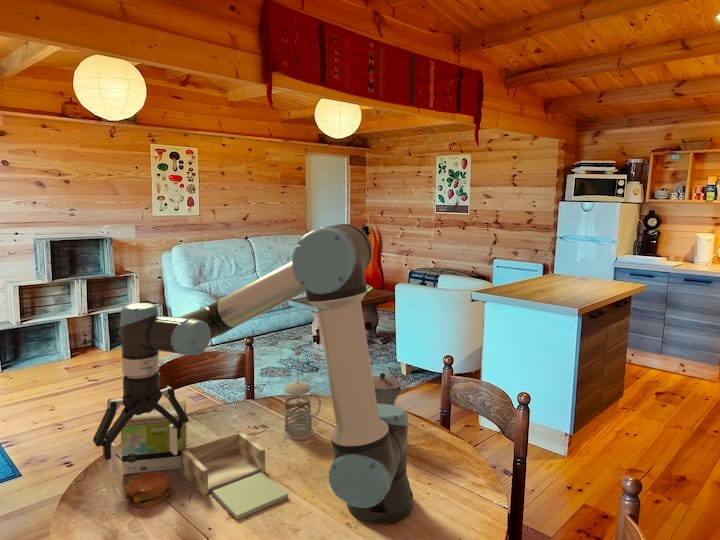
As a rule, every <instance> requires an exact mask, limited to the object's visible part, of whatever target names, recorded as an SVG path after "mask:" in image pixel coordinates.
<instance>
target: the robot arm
mask: <svg viewBox="0 0 720 540" xmlns="http://www.w3.org/2000/svg"><path fill="white" fill-rule="evenodd" d="M372 245H373V244H372V243H371V240H370V238H369V236H368V235H367V234H366V233H365V231H364V230H362V229H361V228H360V227H358V226H356V225H353V224H350V223H349V224H348V223H340V224H336V225H335V224H334V225H329V226H327V225H326V226H322V227H316V228H315V229H312V230H310V231H309V232H307V233H306V234H304V235H303V236H302V237H301V238H300V239H299V240H298V242H297V244H296V245H295V247H294V250H293V253H292V257H291V261H290V262H288V263H286V264H284V265H282V266H281V267H278V268H277V269H275V270H273V271H271V272H270V273H269V272H268V273H267V274H266V275H263V276H262V277H259V278H258V279H256V280H255V281H252V282H249V284H247V285H245V286H242V287H241V288H238V289H237V290H234V292H231V293H229V294H228V295H225V296H224V297H222V298H221V299H219V300H216V301H214V302H212V303H211V304H209V305H207V306H205V307H201V308H199V309H198V310H193V311H192V312H189V313H186V314H183V315H181V316H174V317H172V316H164V315H159V312H158V307H157V305H155V304H153V303H150V302H149V303H148V302H138V303H131V304H127V305H125V306H124V307H122V309H121V310H120V323H119V324H120V325H119V328H120V339H121V349H122V350H121V362H122V363H121V367H122V374H123V376H122V390H123V392H122V393H123V395H122V398H119V399H117V398H116V399H114V398H112V397H110V398H108V400H107V405H106V406H107V407H106V411H105V412H104V414H103V416H102V419H101V422H100V423H99V426H98V427H97V430H96V432H95V433H94V436H93V439H92V442H93V444H94V445H95V446H96V447H97V448H98V447H102V455H103V458H104V460H105V461H108V470H109V472H110V473H111V475H115V474H117V464H116V445H115V444H114V441H115V440H116V439H117V437H118V436H119V435H120V434H121V430H122V429H123V427H124V426H125V425H126V423H127V422H128V421H129V420H130V419H131V418H132V417H133V416H134V415H141V414H143V413H149V412H151V411H152V410H153V409H156V410H157V411H158V412H159V413H161V414H162V415H163V416H164V417H166V418H167V419H168V420H169V421H170V422H172V423H173V424H172V425H169V431H170V451H171V452H172V453H173V454H174V455H177V439H180V437H181V428H182V426H183V425H182V424H183V423H186V424H187V423H188V422H189V421H190V420H189V419H190V418H189V417H188V416H187V413H186V414H185V412H184V411H183V409H182V407H181V406H180V404H179V403H178V400H177V398H176V394H175V389H174V388H173V387H171V386H170V385H166V386H165V388H163V389H160V385H161V384H160V383H161V382H160V372H159V370H160V358H159V357H160V356H159V355H160V354H159V352H166V353H173V354H179V355H182V356H199V355H201V354H202V353H203V354H204V352H205V350H206V348H208V346H209V344H210V341H211V340H212V339H215V338H217V337H218V336H219V337H220V336H222V335H224V334H226V333H228V332H229V331H231V330H233V329H235V328H237V327H238V326H240V325H242V324H245V323H247V322H249V321H250V320H252V319H254V318H257V317H259V316H260V315H263V314H265V313H266V312H269V311H271V310H273V309H275V308H277V307H278V306H281V305H282V304H284V303H287V302H289V301H291V300H293V299H295V298H298V297H299V296H301V295H303V294H305V295H306V300H307V303H308V304H309V305H312V306H313V307H314V308H315V309H316V312H317V317H318V323H319V329H320V334H321V341H322V348H323V354H324V359H325V365H326V372H327V377H328V384H329V389H330V394H331V400H332V402H331V403H332V407H333V412H334V413H333V414H334V419H335V423H336V424H335V425H336V426H335V427H334V429H333V430H332V432H331V433H330V442H331V448H332V455H333V461H332V462H331V464H330V465H329V471H328V482H329V486H330V488H331V490H332V492H333V493H334V494H335V496H337V498H338V499H340V500H343V502H344V504H345V503H346V507H347V509H348V511H349V512H350V514H351V515H352V516H353V517H355V518H357V519H358V520H360V521H363V522H365V523H369V524H374V525H391V524H395V523H398V522H401V521H403V520H405V519H406V518H408V516H409V515H410V514H411V513H412V511H413V509H414V494H413V491H412V489H411V484H410V481H409V479H408V478H409V477H408V474H407V462H408V459H407V458H408V432H409V431H408V430H409V429H408V428H409V426H410V425H409V424H410V423H409V419H408V417H409V416H408V413H407V412H406V410H405V409H403V408H401V407H399V406H396V405H394V406H393V405H388V404H377V401H376V394H375V388H374V382H373V377H374V376H373V369H372V364H371V358H370V352H369V346H368V345H369V344H368V339H367V332H366V327H365V319H364V314H363V313H364V312H363V308H362V300H363V298H364V297H365V296H366V295H367V292H368V289H367V284H366V283H367V282H366V276H365V272H366V271H367V270H368V268H369V266H370V265H371V262H372V259H373V246H372ZM162 396H163V397H164V398H166V399H167V400H168V402H170V403H171V405H172V406H173V408H174V409H175V411H176V413H177V414H178V416H179V418H177V419H176V418H175V417H174V416H172V415H171V414H170V413H169V412H168V411H166V410H165V409H164V408H163V407H162V406H160V405H159V404H158V403H160V399H162ZM122 405H123V406H124V407H123V409H122V410H121V413H120V415H119V416H118V417H117V419H116V420H115V421H114V418H115V416H116V414H117V410H119V409H120V406H122ZM113 421H114V422H113ZM112 422H113V424H112ZM111 425H112V426H111Z"/></svg>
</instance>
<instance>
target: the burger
mask: <svg viewBox="0 0 720 540" xmlns="http://www.w3.org/2000/svg"><path fill="white" fill-rule="evenodd" d="M124 490H125V492H126V499H129V500H128V503H129V504H131V506H135V507H136V506H138V507H140V508H141V509H147V508H148V509H149V508H153V507H156V506H159V505H160V504H162V503H164V502H166V500H167V497H169V495H170V494H171V492H172V490H173V485H172V480H171V478H170V476H169V475H167V474H165V473H163V472H160V471H150V472H141V473H140V474H139V475H137V476H135V477H133V478H132V479H131V480H130V481H129V482H128V483H127V485H126V487H125V489H124Z"/></svg>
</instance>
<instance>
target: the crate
mask: <svg viewBox="0 0 720 540" xmlns="http://www.w3.org/2000/svg"><path fill="white" fill-rule="evenodd" d="M181 466H182V469H181V473H182V474H183V475H184V476H185V477H186V478H187V479H188V480H189V482H191V484H192V485H193V486H194V487H195V488H196V489H197V490H198V491H199V492H200V493H201V494H202V495H203V496H205V495H207V494H209V493H212V492H211V490H210V488H211V487H213V486H216V485H218V484H221V483H224V482H226V481H229V480H232V479H234V478H237V477H240V476H242V475H245V474H248V473H250V472H253V471H256V470H258V469H260V470H261V472H262V473H265V472H266V449H265V448H264V447H262V445H260V444H258V443H257V442H256V441H255V440H253V439H252V438H250V437H249V436H248V435H246V434H245V433H244V432H242V431H241V430H239V431H236V432H233V433H230V434H227V435H223V436H220V437H217V438H214V439H213V438H212V439H210V440H207V441H204V442H201V443H198V444H194V445H191V446H188V447H186V448H185V449H181Z"/></svg>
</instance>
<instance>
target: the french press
mask: <svg viewBox="0 0 720 540" xmlns="http://www.w3.org/2000/svg"><path fill="white" fill-rule="evenodd" d="M301 355H302V352H301V351H300V350H295V351H294V356H297V357H296V359H297V360H296V361H297V364H296V365H297V366H296V367H297V368H296V369H297V373H296V375H297V378H296V379H297V381H291V382H290V383H288V384H286V385H284V387H283V391H284V392H285V393H286V394H289V395H294V396H291V397H288V398H287V399H285V405H284V428H283V429H282V430H281V432H280V433H281V435H282V437H283V438H285V439H288V440H293V441H296V440H297V441H298V440H301V441H302V440H305V439H308V438H311V437H312V436H313V435H314V433H315V429H314V428H313V427H312V418H315V417H316V416H318V415H319V412H320V409H321V405H322V404H321V403H322V401H321V398H320V396H319V395H318V394H317V393H316V392H314V391H311V390H312V386H311V385H310V384H308V383H307V382H305V381H299V356H301ZM309 392H310V394H309V398H308V397H305V396H301V395H305V394H308V393H309ZM295 395H296V396H295ZM312 396H313V397H315V398H316V399H317V402H318V410H317V411H316V412H315V413H313V414H311V413H312V412H311V411H312V409H311V407H312V405H311V403H310V402H311V400H310V399H311V398H312ZM293 408H294V409H293ZM291 409H292V410H291Z"/></svg>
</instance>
